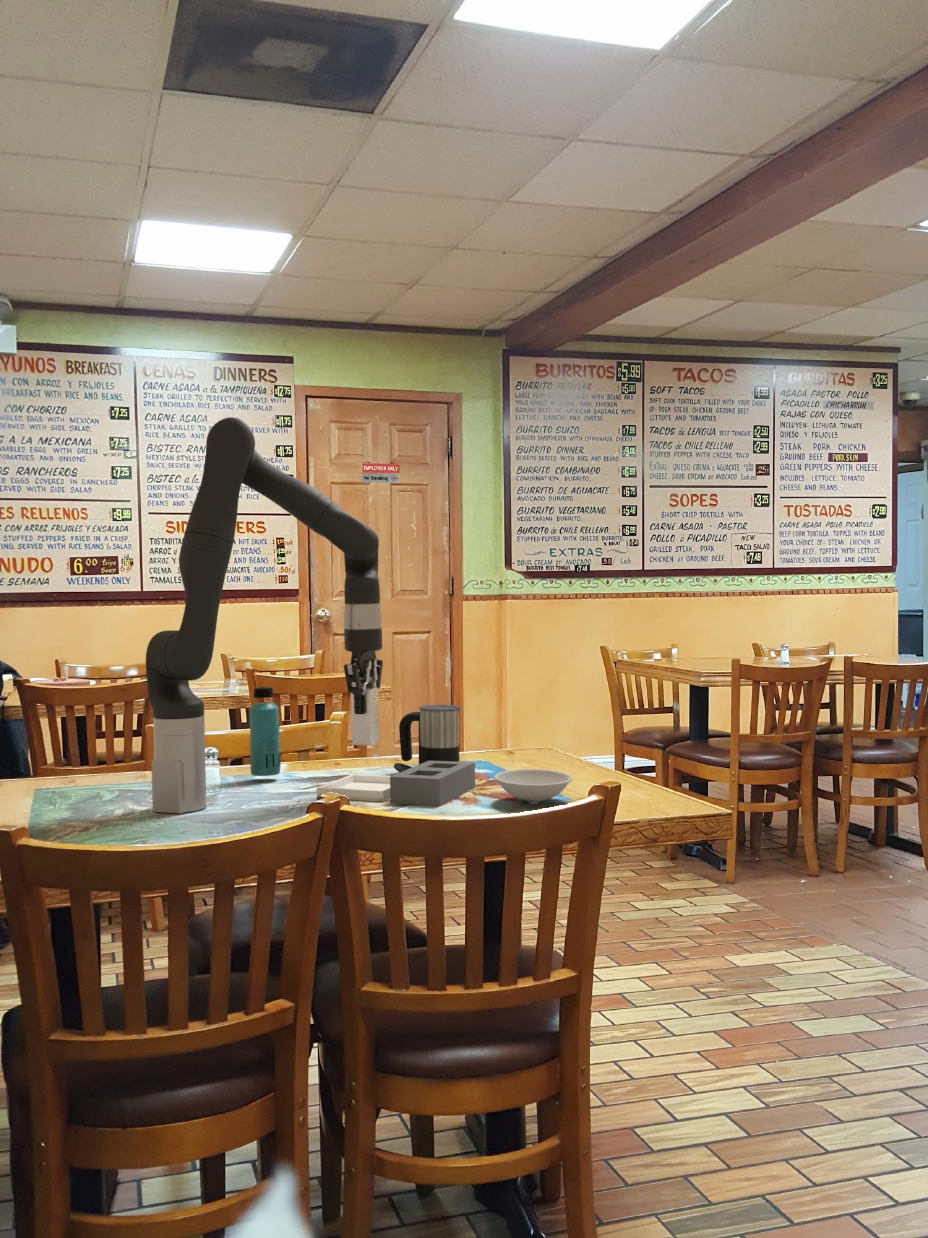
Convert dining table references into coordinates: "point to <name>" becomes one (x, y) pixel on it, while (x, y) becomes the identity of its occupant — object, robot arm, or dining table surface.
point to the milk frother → (431, 734)
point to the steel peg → (366, 720)
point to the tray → (359, 787)
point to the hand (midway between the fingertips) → (365, 712)
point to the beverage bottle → (264, 735)
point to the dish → (533, 783)
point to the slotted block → (432, 783)
